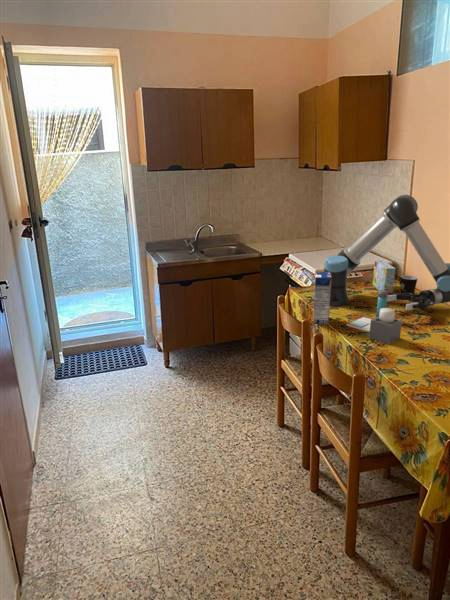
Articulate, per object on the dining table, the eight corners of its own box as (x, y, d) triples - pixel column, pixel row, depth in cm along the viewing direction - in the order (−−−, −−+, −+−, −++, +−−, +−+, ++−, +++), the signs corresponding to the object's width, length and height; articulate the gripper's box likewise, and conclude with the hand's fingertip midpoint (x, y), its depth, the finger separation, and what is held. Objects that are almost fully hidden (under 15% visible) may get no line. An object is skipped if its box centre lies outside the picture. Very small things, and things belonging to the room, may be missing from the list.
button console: (369, 337, 188) (370, 320, 186) (380, 332, 194) (381, 314, 192) (389, 344, 182) (391, 325, 180) (399, 338, 188) (402, 320, 185)
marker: (373, 318, 210) (376, 291, 206) (378, 316, 213) (381, 289, 209) (382, 321, 207) (385, 293, 203) (386, 318, 210) (389, 291, 206)
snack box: (393, 295, 246) (396, 268, 241) (383, 295, 246) (385, 268, 241) (381, 284, 266) (383, 259, 261) (371, 284, 266) (374, 259, 261)
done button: (375, 321, 186) (377, 310, 184) (383, 318, 190) (384, 307, 188) (389, 325, 182) (390, 313, 180) (396, 321, 186) (398, 310, 184)
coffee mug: (416, 297, 240) (419, 279, 237) (399, 297, 242) (402, 279, 239) (412, 291, 251) (414, 274, 248) (396, 290, 253) (398, 273, 250)
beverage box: (312, 324, 204) (315, 277, 197) (313, 316, 214) (315, 271, 208) (328, 325, 203) (331, 278, 196) (327, 316, 213) (330, 272, 206)
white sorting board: (346, 325, 202) (346, 323, 202) (363, 318, 211) (363, 316, 211) (374, 334, 192) (375, 332, 192) (391, 326, 201) (391, 324, 201)
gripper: (449, 312, 209) (414, 318, 201) (409, 297, 230) (376, 303, 223) (452, 297, 206) (416, 303, 198) (411, 283, 228) (378, 288, 220)
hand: (395, 303), depth 210 cm, fingers open, 13 cm apart
